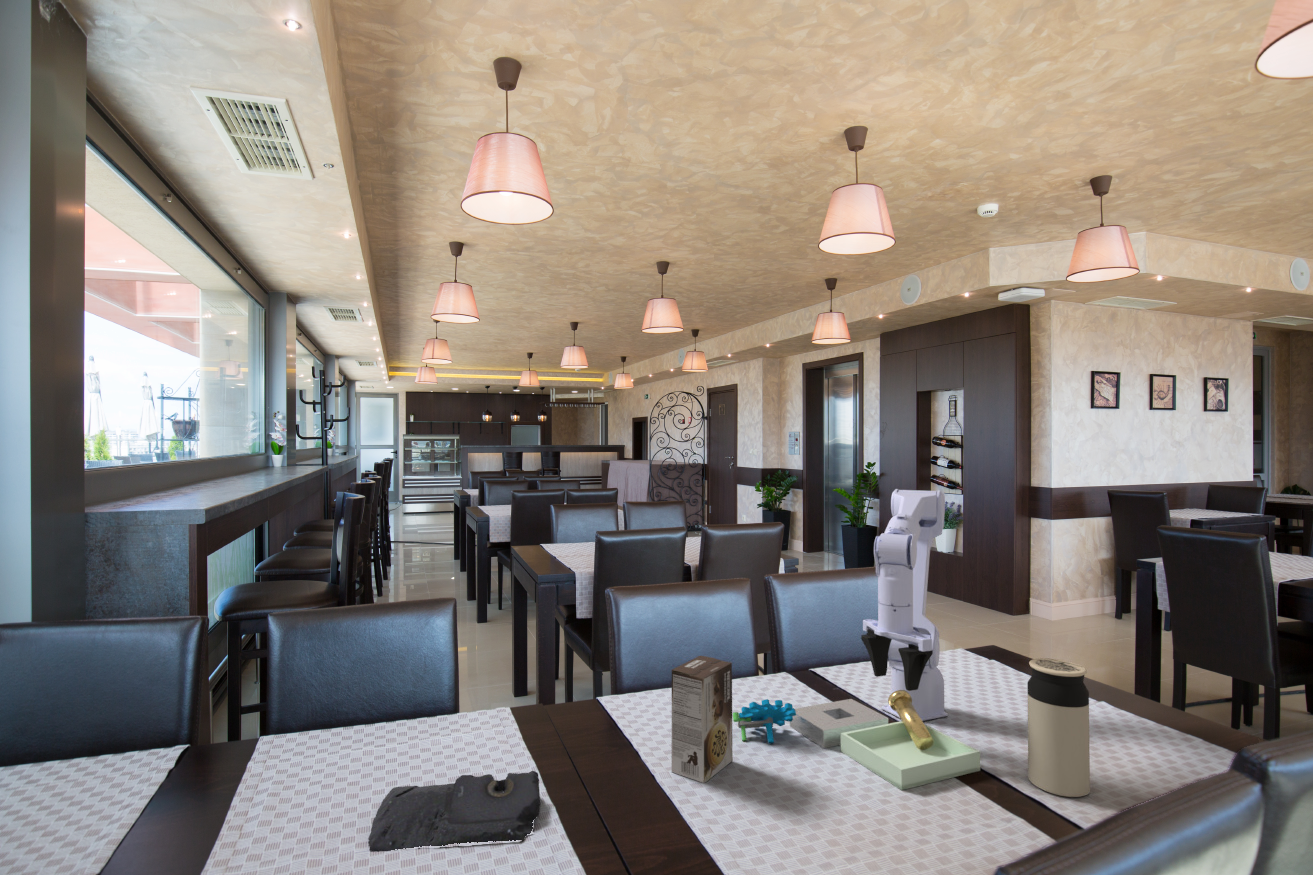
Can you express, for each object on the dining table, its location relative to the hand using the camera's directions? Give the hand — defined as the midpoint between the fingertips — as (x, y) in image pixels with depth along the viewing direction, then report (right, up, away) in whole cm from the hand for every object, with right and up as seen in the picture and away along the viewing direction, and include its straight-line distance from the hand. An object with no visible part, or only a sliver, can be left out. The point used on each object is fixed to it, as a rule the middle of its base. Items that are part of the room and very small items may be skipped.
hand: (895, 682), depth 115 cm
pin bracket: (-9, -11, +5) cm, 14 cm away
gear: (-22, -11, +3) cm, 25 cm away
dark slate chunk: (-68, -10, -24) cm, 73 cm away
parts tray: (0, -10, -7) cm, 12 cm away
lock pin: (+3, -8, -5) cm, 10 cm away
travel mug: (+19, -10, -15) cm, 26 cm away
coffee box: (-34, -10, -9) cm, 37 cm away
